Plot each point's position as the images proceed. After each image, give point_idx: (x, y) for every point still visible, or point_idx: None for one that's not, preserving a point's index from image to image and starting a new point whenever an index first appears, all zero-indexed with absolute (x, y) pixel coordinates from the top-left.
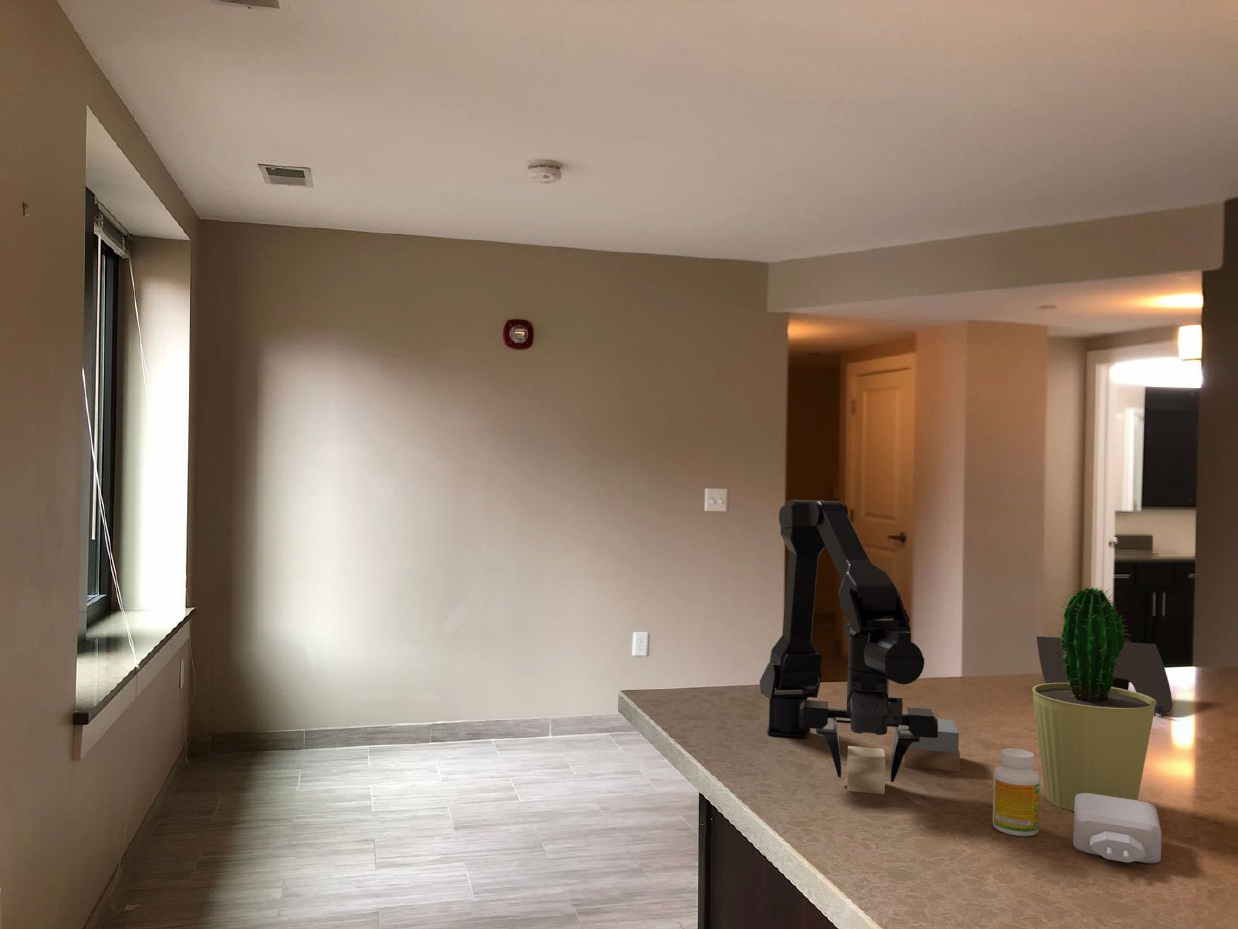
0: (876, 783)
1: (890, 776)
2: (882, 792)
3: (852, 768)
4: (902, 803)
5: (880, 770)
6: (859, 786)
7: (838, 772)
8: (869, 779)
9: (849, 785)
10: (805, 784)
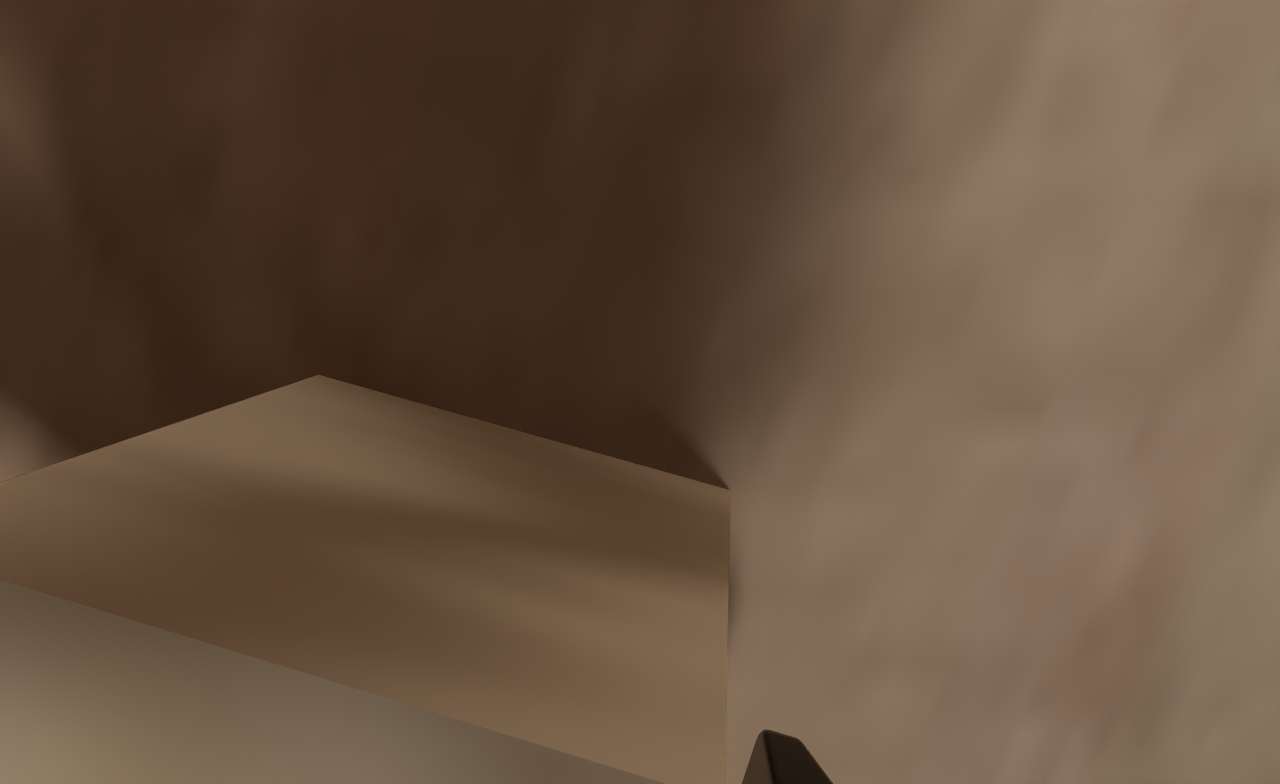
0: (349, 431)
1: None
2: (330, 384)
3: (648, 612)
4: (176, 43)
5: (170, 475)
6: (580, 476)
7: (809, 769)
8: (421, 471)
9: (707, 505)
10: (1201, 728)
